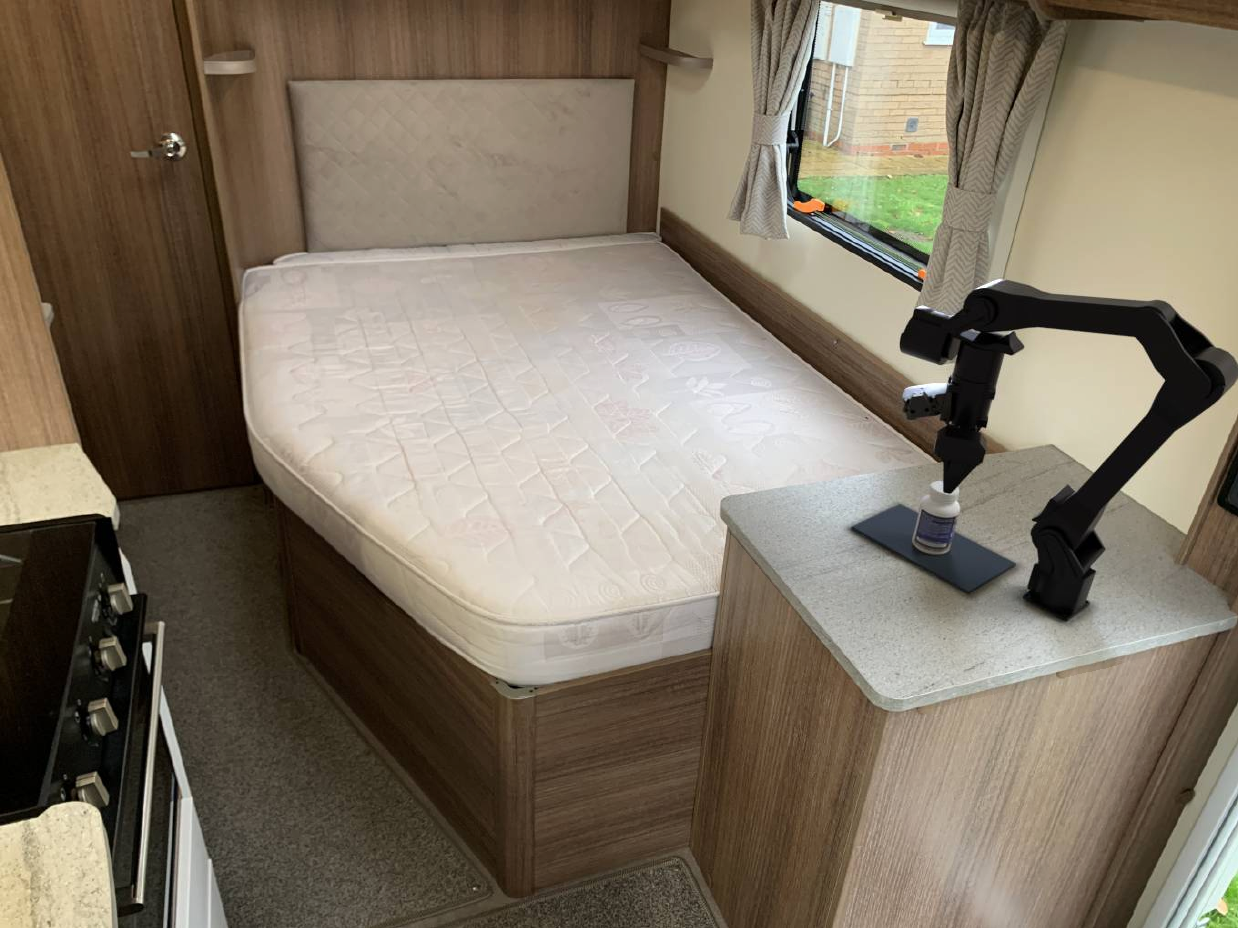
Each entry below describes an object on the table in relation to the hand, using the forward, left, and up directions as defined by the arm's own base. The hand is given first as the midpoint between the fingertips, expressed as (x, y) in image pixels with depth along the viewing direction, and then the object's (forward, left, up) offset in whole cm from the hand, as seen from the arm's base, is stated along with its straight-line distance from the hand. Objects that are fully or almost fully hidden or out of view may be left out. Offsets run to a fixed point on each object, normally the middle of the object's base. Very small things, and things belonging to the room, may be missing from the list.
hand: (949, 478), depth 134 cm
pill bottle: (0, 0, -11) cm, 11 cm away
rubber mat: (0, 0, -12) cm, 12 cm away
